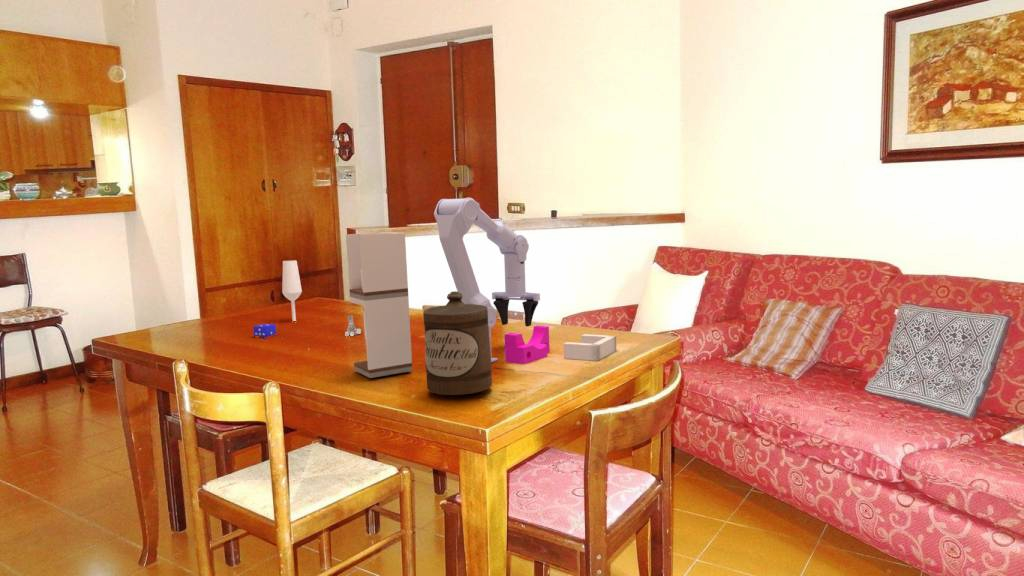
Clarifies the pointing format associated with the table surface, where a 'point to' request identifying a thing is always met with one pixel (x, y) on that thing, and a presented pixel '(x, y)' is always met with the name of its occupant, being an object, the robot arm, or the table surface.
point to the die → (264, 330)
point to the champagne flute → (291, 283)
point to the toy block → (527, 346)
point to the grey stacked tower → (381, 300)
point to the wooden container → (457, 347)
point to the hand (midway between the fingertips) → (516, 325)
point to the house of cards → (352, 328)
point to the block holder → (590, 347)
